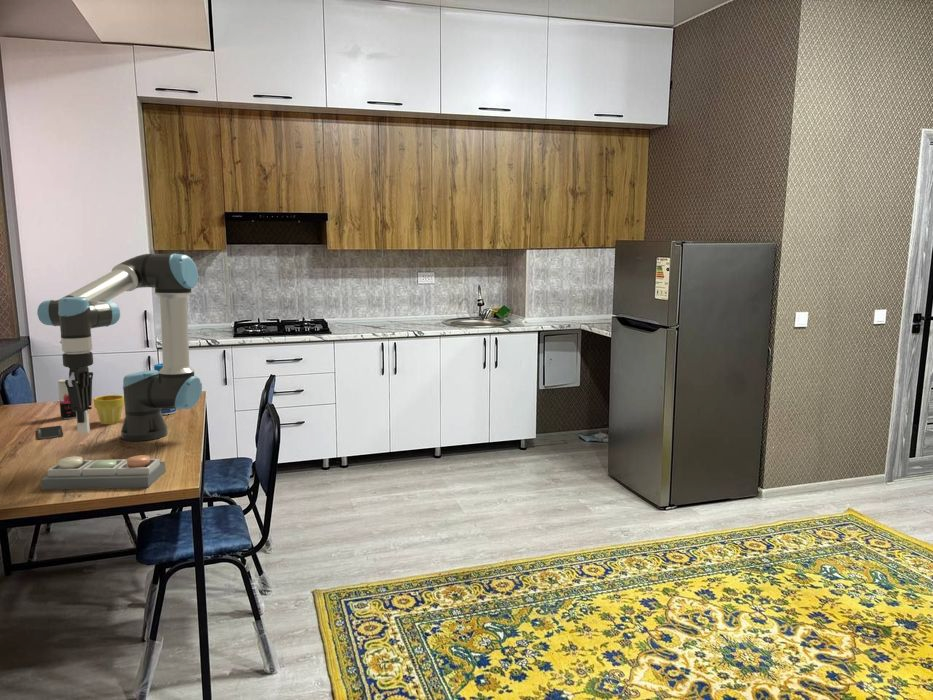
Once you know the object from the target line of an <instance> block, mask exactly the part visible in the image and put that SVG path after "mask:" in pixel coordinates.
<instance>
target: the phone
mask: <svg viewBox="0 0 933 700" xmlns="http://www.w3.org/2000/svg"><path fill="white" fill-rule="evenodd" d="M36 432H37V433H36V434H37V440H41V441H42V440H49V439H55V438H56V439H57V437H58V438H62V437H64V432H63V427H62V425H52V426H45V427H38V428H37V429H36Z"/></svg>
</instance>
